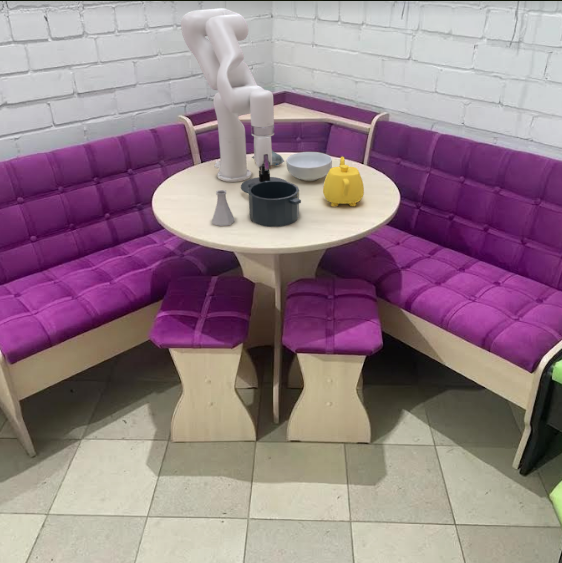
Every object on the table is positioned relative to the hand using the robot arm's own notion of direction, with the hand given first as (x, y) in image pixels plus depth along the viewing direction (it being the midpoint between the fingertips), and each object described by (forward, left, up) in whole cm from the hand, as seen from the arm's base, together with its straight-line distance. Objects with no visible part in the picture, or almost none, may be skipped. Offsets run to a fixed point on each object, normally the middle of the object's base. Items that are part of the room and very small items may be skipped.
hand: (264, 182), depth 194 cm
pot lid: (0, 0, -1) cm, 1 cm away
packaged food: (-16, +24, -4) cm, 29 cm away
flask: (+3, -26, -4) cm, 26 cm away
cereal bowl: (+5, +21, -4) cm, 22 cm away
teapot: (+26, +9, -4) cm, 28 cm away
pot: (+14, -14, -4) cm, 20 cm away
